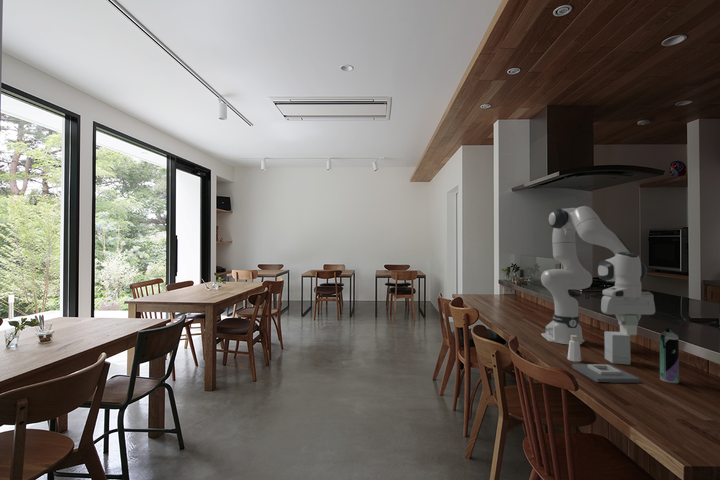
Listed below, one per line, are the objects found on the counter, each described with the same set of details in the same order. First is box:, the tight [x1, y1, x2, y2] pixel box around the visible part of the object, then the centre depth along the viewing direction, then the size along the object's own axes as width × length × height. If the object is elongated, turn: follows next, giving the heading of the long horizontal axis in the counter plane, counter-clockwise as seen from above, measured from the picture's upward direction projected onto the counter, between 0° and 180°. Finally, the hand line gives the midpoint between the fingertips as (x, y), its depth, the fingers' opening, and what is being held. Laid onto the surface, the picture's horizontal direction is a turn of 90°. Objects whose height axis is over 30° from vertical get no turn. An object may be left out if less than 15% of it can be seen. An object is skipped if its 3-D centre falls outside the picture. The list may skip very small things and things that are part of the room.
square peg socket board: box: [571, 363, 641, 384], centre depth 142 cm, size 16×16×3 cm
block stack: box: [619, 314, 638, 336], centre depth 146 cm, size 4×4×8 cm
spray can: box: [659, 327, 680, 384], centre depth 136 cm, size 6×6×20 cm
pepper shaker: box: [567, 335, 582, 363], centre depth 160 cm, size 5×5×11 cm
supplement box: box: [604, 331, 632, 366], centre depth 158 cm, size 7×7×13 cm
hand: (628, 325), depth 146 cm, fingers closed on block stack, 4 cm apart
